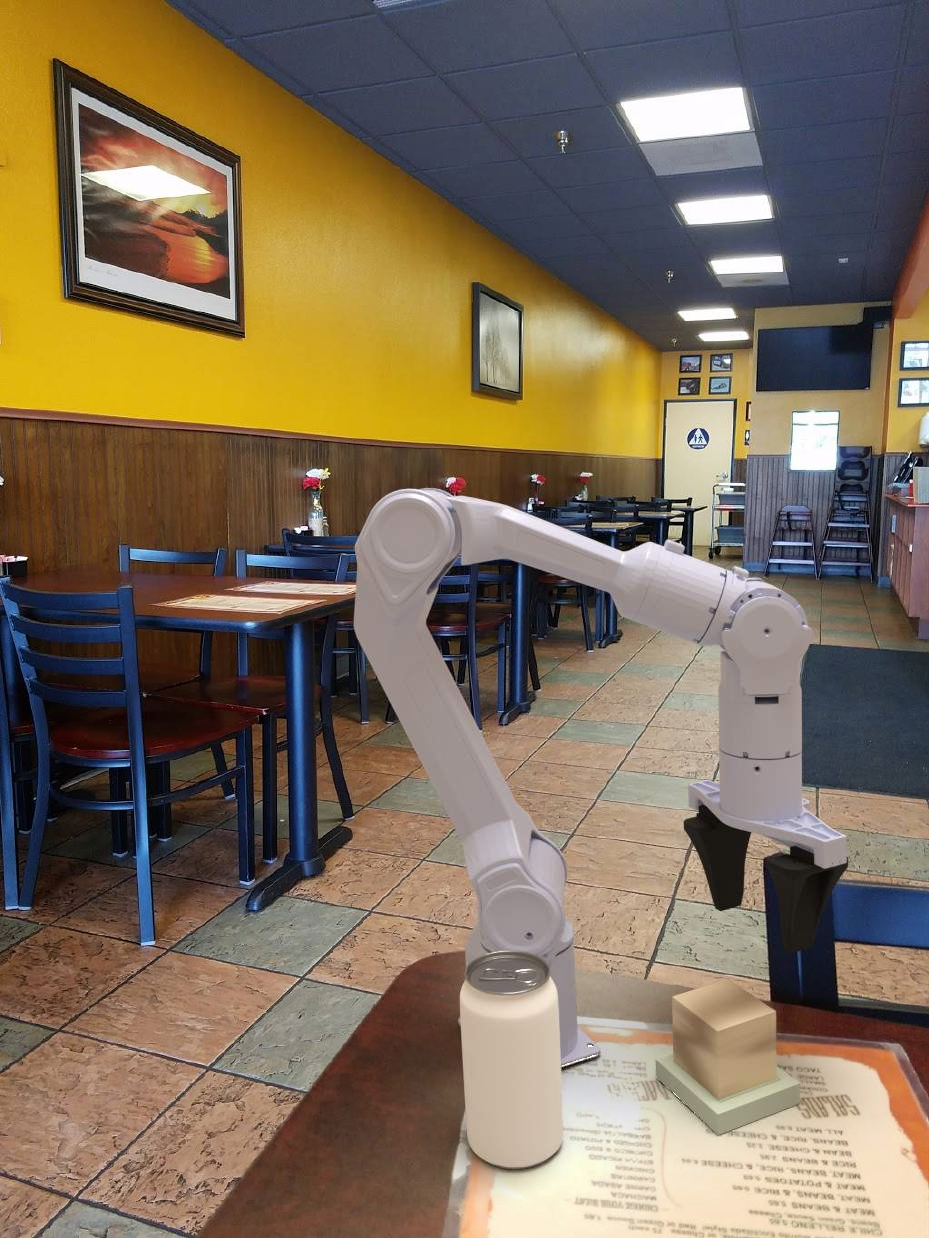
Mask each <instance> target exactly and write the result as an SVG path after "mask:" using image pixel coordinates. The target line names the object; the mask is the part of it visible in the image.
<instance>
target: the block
mask: <svg viewBox="0 0 929 1238" xmlns="http://www.w3.org/2000/svg"><path fill="white" fill-rule="evenodd" d="M671 1003H672V1004H671V1006H672V1007H671V1009H672V1011H671V1012H672V1013H671V1014H672V1044H673V1045H672V1047H673V1048H672V1049H673V1050H672V1051H673V1052H672V1053H673V1057H674V1062H675V1063H676V1064H677V1065H678V1066H680V1067H681V1068H682V1069H683V1070H684V1071H685V1072H687V1073H688V1074H689V1075H690V1076H691V1077H692V1078H693V1079H695V1080H696V1081H697V1082H698V1083H699V1084H700V1085H701V1086H703V1087H704V1088H705V1089H706V1090H707V1091H708V1092H710V1093H711V1094H712V1095H713V1096H714V1097H715V1098H716V1099H718V1100H721V1099H723V1098H726V1097H729V1096H731V1095H734V1094H737V1093H739V1092H742V1091H745V1090H747V1089H750V1088H753V1087H755V1086H758V1085H761V1084H763V1083H766V1082H769V1081H771V1080H774V1079H777V1067H776V1066H777V1010H775V1009H774V1008H772V1007H770V1006H769V1005H767V1004H766V1003H765V1002H763V1001H761V1000H760V999H759V998H757V997H756V996H754V995H753V994H751V993H750V992H749V991H747V990H745V989H744V988H743V987H741V986H740V985H738V984H737V983H735V982H734V981H732V980H731V979H729V978H727V979H722V980H720V981H716V982H713V983H710V984H708V985H704V986H701V987H698V988H695V989H691V990H689V991H685V992H682V993H679V994H676V995H673V996H671Z"/></svg>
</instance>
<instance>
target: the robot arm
mask: <svg viewBox="0 0 929 1238" xmlns="http://www.w3.org/2000/svg"><path fill="white" fill-rule="evenodd" d="M685 549H686V547H685V545H683V544H682V543H680V542H679V543H678V542H676V541H673V540H670V539H666V540H665V541H664V544H663V545H661V544H658V543H656V542H652V541H647V542H644V543H642V544H640V545H638V546H636V547H634V548H631V549H630V550H626V551H622V550H620V549H617V548H615V547H613V546H609V545H607V544H605V543H602V542H599V541H597V540H595V539H592V538H589V537H587V536H584V535H582V534H579V533H578V532H575V531H573V530H570V529H567V528H564V527H562V526H559V525H557V524H555V523H553V522H550V521H548V520H544V519H542V518H539V517H537V516H535V515H532V514H529V513H527V512H524V511H523V510H520V509H517V508H514V507H512V506H509V505H507V504H502V503H499V502H494V501H489V500H485V499H480V498H478V497H476V498H475V497H470V496H467V495H466V496H465V495H456V496H453V495H452V494H451V493H449V492H447V491H446V490H442V489H440V488H434V487H430V488H429V487H425V488H419V489H417V488H405V489H398V490H395V491H391V492H390V493H388V494H386V495H384V496H383V497H382V498H381V499H380V500H378V501H377V502H376V504H375V505H374V506H373V507H372V509H371V511H370V512H369V514H368V517H367V519H366V520H365V522H364V525H363V526H362V529H361V532H360V534H359V535H358V538H357V540H356V542H355V545H354V552H355V558H356V564H357V567H356V581H355V583H356V584H355V598H354V610H353V611H354V612H353V613H354V614H353V629H354V632H355V635H356V639H357V640H358V643H359V644H360V647H361V648H362V650H363V652H364V653H365V656H366V658H367V660H368V662H369V664H370V665H371V667H372V670H373V672H374V674H375V675H376V677H377V679H378V681H379V683H380V685H381V687H382V689H383V691H384V693H385V695H386V697H387V698H388V699H387V700H388V701H389V703H390V704H391V707H392V709H393V710H394V713H395V714H396V716H397V718H398V720H399V722H400V724H401V726H402V728H403V730H404V731H405V734H406V735H407V738H408V739H409V742H410V743H411V745H412V747H413V749H414V751H415V753H416V755H417V757H418V759H419V761H420V763H421V764H422V765H421V766H422V767H423V769H424V771H425V772H426V774H427V777H428V778H429V781H430V782H431V785H432V787H433V788H434V790H435V792H436V795H437V796H438V798H439V800H440V802H441V804H442V806H443V808H444V809H445V812H446V813H447V816H448V817H449V819H450V821H451V823H452V825H453V827H454V829H455V831H456V834H457V835H458V837H459V839H460V841H461V845H462V850H463V851H462V852H463V855H464V861H465V867H466V872H467V877H468V881H469V882H470V885H471V887H472V888H473V891H474V894H475V896H476V899H477V907H478V908H477V920H478V922H477V923H476V924H475V925H474V926H473V928H472V930H471V931H470V933H469V935H468V937H467V940H466V944H465V950H464V951H465V953H464V954H465V968H466V967H467V965H468V964H469V963H470V962H471V961H473V960H474V959H476V958H477V957H479V956H482V955H484V954H487V953H491V952H496V951H504V950H515V951H523V952H528V953H532V954H534V955H537V956H539V957H541V958H542V959H544V960H545V961H546V962H547V963H548V965H549V967H550V971H551V972H550V977H551V978H552V980H553V982H554V984H555V986H556V989H557V994H558V1008H559V1030H560V1054H561V1066H562V1065H565V1064H567V1063H571V1062H573V1061H576V1060H579V1059H582V1058H587V1057H590V1056H592V1055H597V1054H599V1053H600V1054H601V1047H600V1046H599V1045H598V1044H597V1043H596V1042H595V1041H593V1039H591V1038H590V1037H589V1036H588V1034H586V1033H585V1032H584V1030H582V1029H581V1028H580V1027H579V1026H578V1015H577V1014H578V1013H577V1009H578V1008H577V985H576V963H575V961H576V960H575V959H576V958H575V938H574V937H575V931H574V927H573V925H572V923H571V922H570V920H569V919H568V918H567V917H566V911H565V908H564V907H565V890H566V888H565V887H566V884H567V877H568V866H567V861H566V859H565V856H564V854H563V852H562V850H560V848H559V847H558V845H557V844H555V842H553V841H552V840H550V838H548V837H546V836H545V835H543V833H542V832H541V831H540V830H539V829H538V828H537V827H536V825H535V823H534V821H533V819H532V817H531V815H530V814H529V813H528V812H527V810H525V809H524V808H523V807H522V806H520V804H518V803H517V801H516V800H515V797H514V795H513V793H512V792H511V789H510V787H509V785H508V784H507V781H506V779H505V778H504V776H503V774H502V772H501V770H500V767H499V766H498V764H497V762H496V760H495V757H494V756H493V754H492V752H491V750H490V748H489V745H487V742H486V740H485V739H484V736H483V735H482V732H481V730H480V729H479V727H478V725H477V723H476V721H475V719H474V716H473V715H472V713H471V711H470V708H469V706H468V705H467V703H466V701H465V699H464V697H463V695H462V693H461V691H460V689H459V687H458V685H457V682H456V681H455V680H454V677H453V675H452V673H451V672H450V670H449V667H448V665H447V663H446V662H445V659H444V657H443V655H442V653H441V652H440V650H439V648H438V645H437V644H436V642H435V640H434V637H433V635H432V633H431V632H430V630H429V628H428V626H427V619H428V616H429V613H430V610H431V609H432V605H433V603H434V600H435V598H436V595H437V592H438V590H439V584H440V583H441V581H443V580H442V579H443V578H444V577H445V576H446V574H447V573H448V572H449V571H450V570H451V568H453V566H454V565H455V563H456V562H457V561H458V559H459V558H460V565H461V566H465V565H472V564H473V565H474V564H478V563H479V564H480V563H484V562H490V561H495V560H496V561H497V560H502V559H504V560H505V559H506V560H510V561H513V562H516V563H519V564H523V565H525V566H529V567H532V568H534V569H537V570H541V571H543V572H546V573H550V574H552V575H556V576H558V577H562V578H565V579H567V580H570V581H573V582H576V583H580V584H583V585H585V586H589V587H592V588H595V589H597V590H600V591H604V592H606V593H608V594H610V595H611V598H612V601H613V603H614V605H615V607H616V610H617V612H618V613H619V615H620V616H621V617H622V618H624V619H627V620H629V621H630V620H631V621H632V622H636V623H638V624H641V625H644V626H647V627H649V628H651V629H654V630H656V631H660V632H662V633H666V634H668V635H670V636H673V637H676V638H679V639H681V640H684V641H687V642H690V643H692V644H695V645H697V646H701V647H707V646H717V645H718V646H720V648H721V649H722V651H721V650H720V683H719V685H718V694H717V695H718V743H719V745H718V755H719V757H718V758H719V759H718V760H719V782H715V781H712V780H710V779H706V780H702V781H700V780H699V781H696V782H691V783H689V784H688V788H687V789H688V808H691V809H693V810H696V811H698V812H697V813H696V816H693V817H688V818H686V819H684V820H683V830H684V832H685V833H686V835H687V836H688V838H689V839H690V841H691V843H692V845H693V847H694V848H695V850H696V853H697V855H698V858H699V860H700V862H701V865H702V869H703V871H704V875H705V878H706V881H707V885H708V888H709V893H710V896H711V900H712V903H713V905H714V909H715V910H717V911H719V912H723V911H726V910H731V909H734V908H738V907H741V906H742V902H743V898H744V892H745V874H746V873H745V871H746V869H745V868H746V859H747V853H748V847H749V842H750V839H751V835H752V833H753V834H756V835H760V836H763V837H765V838H767V839H769V840H771V841H774V842H777V844H778V843H779V844H780V845H783V846H785V847H788V848H789V854H788V853H786V854H782V855H781V854H780V855H777V856H774V857H773V856H772V857H770V858H766V859H765V866H766V868H767V869H768V873H769V875H770V878H771V880H772V883H773V885H774V888H775V893H776V896H777V902H778V907H779V908H778V909H779V919H780V921H779V922H780V933H781V941H782V945H783V948H784V950H785V951H787V952H788V953H790V954H795V953H798V952H802V951H805V950H809V949H811V948H813V947H814V945H815V939H816V935H817V932H818V929H819V925H820V923H821V922H820V921H821V918H822V915H823V912H824V910H825V907H826V905H827V902H828V900H829V898H830V895H831V894H832V892H833V890H834V888H835V887H836V885H838V882H839V880H840V878H841V877H842V876H843V875H844V873H845V872H846V870H847V869H848V868H849V857H848V854H847V852H848V850H847V849H848V845H847V844H848V843H847V841H848V836H847V835H846V834H844V833H842V832H839V831H838V830H835V829H834V828H832V827H830V825H828V824H826V823H825V822H824V821H823V820H822V819H820V818H818V817H817V816H816V815H815V814H814V813H812V812H811V811H810V810H811V801H810V800H808V799H806V798H804V797H803V770H802V769H803V760H802V758H803V751H802V750H803V720H802V719H803V717H802V716H803V712H802V711H803V710H802V709H803V703H802V702H803V698H802V697H803V695H802V694H803V693H802V690H803V689H802V686H801V683H800V682H801V681H800V679H801V664H800V662H801V659H802V658H803V657H804V655H805V654H806V652H807V651H808V649H809V647H810V645H811V641H812V636H813V628H812V627H810V626H809V624H808V623H809V621H808V618H807V614H806V612H805V610H804V608H803V607H802V605H800V604H799V602H798V600H797V599H796V598H794V597H793V596H792V595H790V594H789V593H788V592H785V591H784V590H782V589H780V588H778V587H776V586H775V585H773V584H770V583H769V582H768V583H767V582H765V580H764V579H762V578H760V577H749V575H750V572H749V570H746V569H745V568H742V567H739V566H736V565H734V566H732V569H731V570H729V569H725V568H723V567H720V566H718V565H715V564H712V563H710V562H706V561H704V560H702V559H698V558H696V557H693V556H691V555H688V554H685V553H684V551H685ZM457 1021H458V1022H457V1023H458V1025H459V1026H460V1027H461V1018H460V1017H458V1019H457ZM588 1045H592V1046H593V1047H588Z"/></svg>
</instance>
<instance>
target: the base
mask: <svg viewBox="0 0 929 1238" xmlns="http://www.w3.org/2000/svg"><path fill="white" fill-rule="evenodd" d="M776 1067H777V1079H774V1080H771V1081H769V1082H766V1083H763V1084H761V1085H758V1086H755V1087H753V1088H750V1089H747V1090H745V1091H742V1092H739V1093H737V1094H734V1095H731V1096H729V1097H726V1098H723V1099H721V1100H718V1099H716V1098H715V1097H714V1096H713V1095H712V1094H711V1093H710V1092H708V1091H707V1090H706V1089H705V1088H704V1087H703V1086H701V1085H700V1084H699V1083H698V1082H697V1081H696V1080H695V1079H693V1078H692V1077H691V1076H690V1075H689V1074H688V1073H687V1072H685V1071H684V1070H683V1069H682V1068H681V1067H680V1066H678V1065H677V1064H676V1063H675V1062H674V1057H673V1052H671V1053H669V1054H666V1055H663V1056H660V1057H657V1058H655V1078H656V1077H657V1078H658V1079H659V1080H660V1081H661V1082H662V1083H664V1084H665V1086H667V1087H668V1088H669V1089H670V1090H671V1091H672V1092H674V1093H675V1094H676V1095H677V1096H678V1097H679V1098H680V1100H682V1101H683V1102H684V1103H685V1104H687V1106H688V1107H689V1108H690V1109H691V1110H692V1111H693V1112H695V1113H694V1115H695V1116H697V1117H698V1118H699V1117H700V1118H699V1120H701V1121H702V1120H703V1121H702V1122H703V1123H704V1124H705V1123H706V1124H707V1125H706V1124H705V1125H706V1126H708V1127H709V1129H711V1130H712V1131H713V1132H714V1133H716V1135H717V1136H720V1135H723V1134H726V1133H728V1132H731V1131H733V1130H735V1129H737V1128H740V1127H744V1126H745V1125H749V1124H751V1123H753V1122H756V1121H758V1120H761V1119H764V1118H766V1117H768V1116H771V1115H775V1114H776V1113H778V1112H781V1111H783V1110H787V1109H789V1108H791V1107H793V1106H797V1105H799V1104H801V1083H800V1081H798V1080H796V1079H795V1078H793V1077H792V1076H791V1075H790V1074H788V1073H787V1072H786V1071H785V1070H783V1069H782V1068H780V1067H779V1066H778V1065H776ZM657 1078H656V1079H657ZM658 1079H657V1080H658ZM659 1080H658V1081H659ZM660 1081H659V1082H660ZM661 1082H660V1083H661ZM662 1083H661V1084H662ZM665 1086H664V1087H665ZM670 1090H669V1091H670ZM671 1091H670V1092H671ZM672 1092H671V1093H672ZM680 1100H679V1101H680ZM682 1101H681V1102H682ZM683 1102H682V1103H683ZM684 1103H683V1104H684ZM685 1104H684V1105H685ZM687 1106H686V1107H687ZM688 1107H687V1108H688ZM689 1108H688V1109H689ZM690 1109H689V1110H690ZM691 1110H690V1111H691ZM692 1111H691V1112H692ZM693 1112H692V1113H693Z"/></svg>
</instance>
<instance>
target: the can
mask: <svg viewBox="0 0 929 1238" xmlns="http://www.w3.org/2000/svg"><path fill="white" fill-rule="evenodd" d="M550 972H551V971H550V967H549V965H548V963H547V962H546V961H545V960H544V959H542V958H541V957H539V956H537V955H534V954H532V953H528V952H523V951H515V950H504V951H496V952H491V953H487V954H484V955H482V956H479V957H477V958H476V959H474V960H473V961H471V962H470V963H469V964H468V965H467V967H466V966H465V969H464V978H465V979H464V982H463V984H462V986H461V989H460V992H459V1013H460V1016H459V1018H461V1026H460V1033H461V1034H460V1036H461V1053H462V1055H461V1056H462V1072H463V1088H464V1104H465V1105H464V1107H465V1121H466V1122H465V1123H466V1134H467V1136H466V1137H467V1142H468V1144H469V1147H470V1148H471V1149H472V1151H473V1152H474V1153H475V1155H477V1156H478V1157H479V1158H480V1159H481V1160H482V1161H484V1162H485V1163H487V1164H489V1165H490V1166H494V1167H497V1168H500V1169H504V1170H505V1169H506V1170H524V1169H530V1168H533V1167H537V1166H538V1165H542V1164H543V1163H545V1162H547V1161H548V1160H549V1159H550V1158H551V1157H552V1156H554V1154H555V1153H557V1151H558V1150H559V1149H560V1147H561V1146H562V1143H563V1139H564V1118H563V1117H564V1113H563V1111H564V1110H563V1088H562V1085H563V1083H562V1068H561V1054H560V1030H559V1008H558V994H557V989H556V986H555V984H554V982H553V980H552V978H551V977H550Z"/></svg>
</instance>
